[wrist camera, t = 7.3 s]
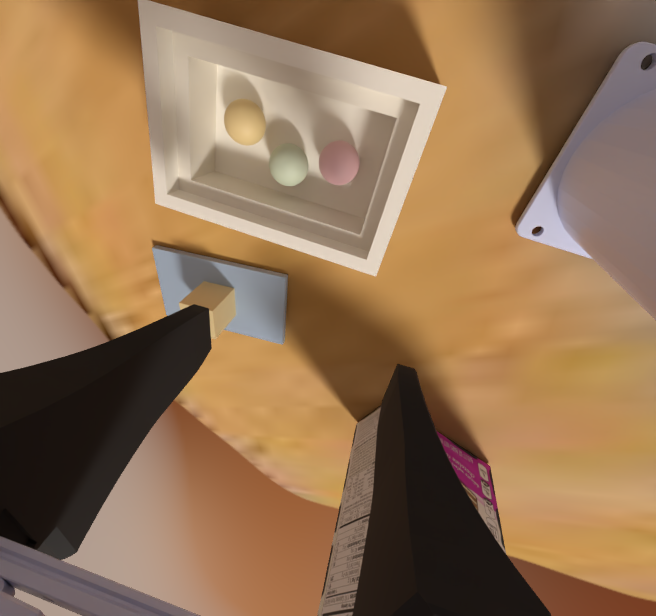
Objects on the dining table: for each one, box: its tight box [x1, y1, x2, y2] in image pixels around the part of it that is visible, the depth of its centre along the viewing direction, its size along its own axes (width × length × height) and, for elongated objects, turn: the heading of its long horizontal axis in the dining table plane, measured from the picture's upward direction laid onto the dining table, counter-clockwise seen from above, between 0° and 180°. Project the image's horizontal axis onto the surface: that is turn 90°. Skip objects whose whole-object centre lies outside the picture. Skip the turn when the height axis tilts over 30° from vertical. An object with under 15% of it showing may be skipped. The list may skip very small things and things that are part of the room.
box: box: [138, 0, 447, 276], centre depth 16 cm, size 12×8×4 cm, turn 76°
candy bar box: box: [318, 406, 506, 616], centre depth 22 cm, size 11×5×16 cm, turn 57°
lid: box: [152, 245, 288, 345], centre depth 23 cm, size 10×6×4 cm, turn 83°
